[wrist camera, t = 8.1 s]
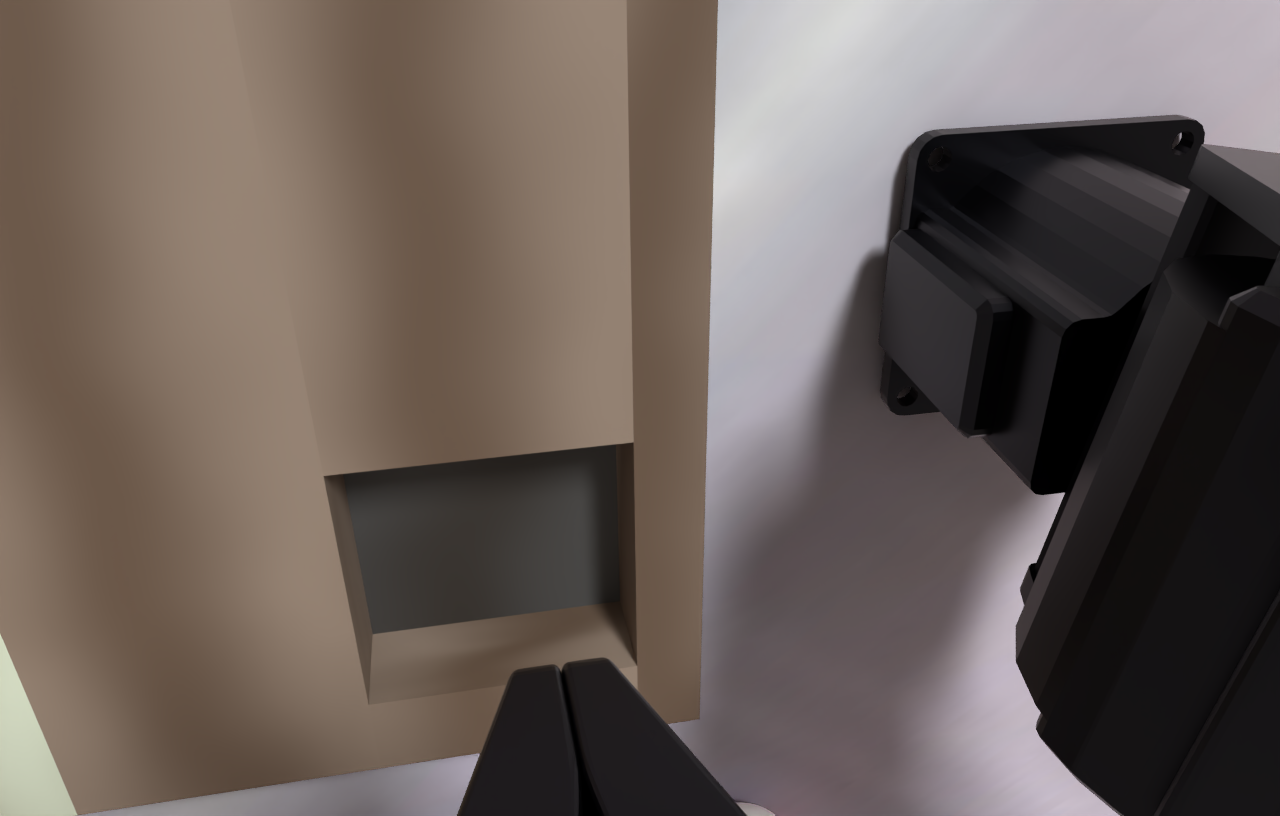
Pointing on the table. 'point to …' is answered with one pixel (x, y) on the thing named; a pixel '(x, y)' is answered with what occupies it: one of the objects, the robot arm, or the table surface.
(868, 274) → the table surface
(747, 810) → the molecule
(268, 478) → the trap box
